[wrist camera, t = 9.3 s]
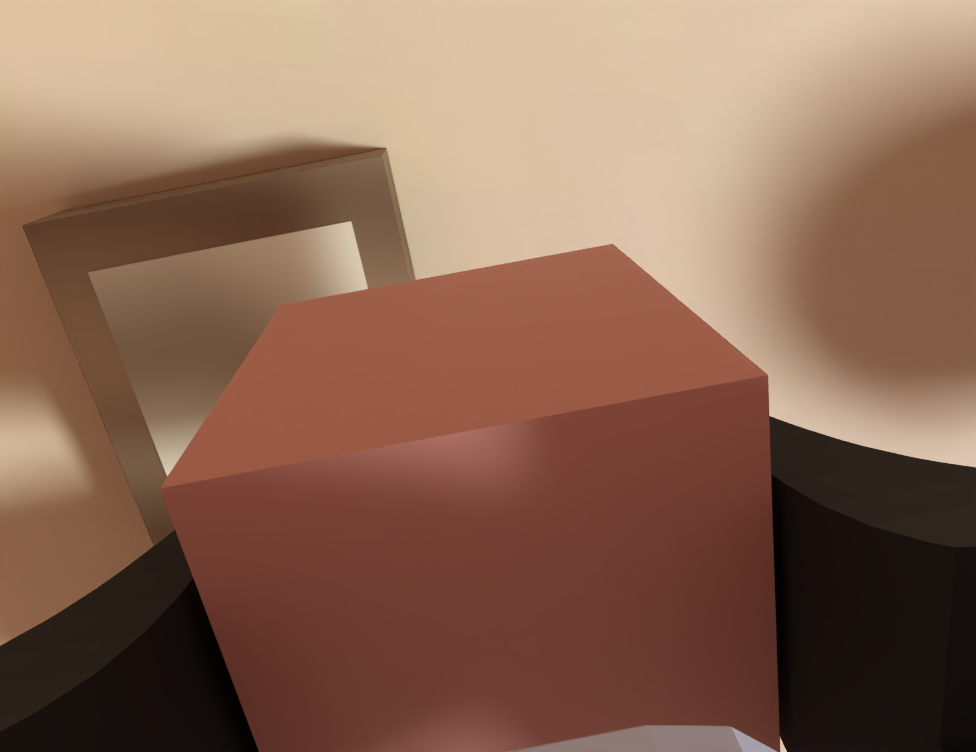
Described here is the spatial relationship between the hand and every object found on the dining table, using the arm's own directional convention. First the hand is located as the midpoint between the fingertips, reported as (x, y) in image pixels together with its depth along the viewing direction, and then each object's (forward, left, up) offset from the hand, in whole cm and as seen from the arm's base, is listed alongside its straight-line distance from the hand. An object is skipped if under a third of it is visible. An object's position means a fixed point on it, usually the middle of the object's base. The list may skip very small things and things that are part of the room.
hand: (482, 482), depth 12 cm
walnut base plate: (-4, +5, -9) cm, 11 cm away
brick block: (0, 0, -2) cm, 2 cm away
